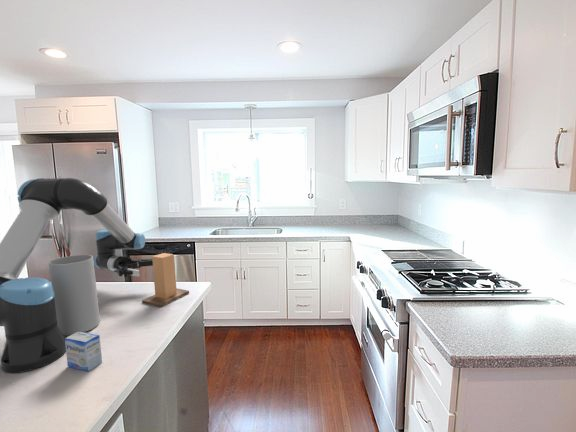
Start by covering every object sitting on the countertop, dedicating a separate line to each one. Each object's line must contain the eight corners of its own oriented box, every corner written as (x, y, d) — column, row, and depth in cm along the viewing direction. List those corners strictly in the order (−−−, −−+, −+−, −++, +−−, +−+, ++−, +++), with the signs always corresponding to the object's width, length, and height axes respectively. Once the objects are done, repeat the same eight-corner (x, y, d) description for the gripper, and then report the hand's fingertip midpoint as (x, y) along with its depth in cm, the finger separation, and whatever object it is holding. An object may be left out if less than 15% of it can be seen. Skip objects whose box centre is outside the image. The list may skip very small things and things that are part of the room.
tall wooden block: (176, 293, 133) (173, 254, 131) (165, 298, 128) (162, 257, 126) (166, 291, 136) (163, 253, 134) (155, 296, 130) (152, 256, 128)
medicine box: (67, 367, 84) (63, 338, 83) (82, 358, 88) (78, 330, 87) (88, 372, 82) (85, 342, 81) (102, 362, 86) (99, 334, 85)
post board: (161, 307, 122) (159, 287, 121) (142, 302, 127) (140, 284, 126) (189, 293, 137) (187, 275, 136) (171, 289, 141) (170, 273, 140)
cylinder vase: (105, 317, 114) (98, 253, 111) (92, 333, 102) (84, 262, 99) (68, 321, 111) (60, 256, 108) (50, 339, 99) (40, 266, 96)
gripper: (143, 264, 154) (174, 269, 145) (95, 279, 132) (127, 286, 123) (142, 250, 153) (172, 254, 144) (93, 263, 131) (125, 268, 122)
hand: (152, 268), depth 134 cm, fingers open, 13 cm apart
